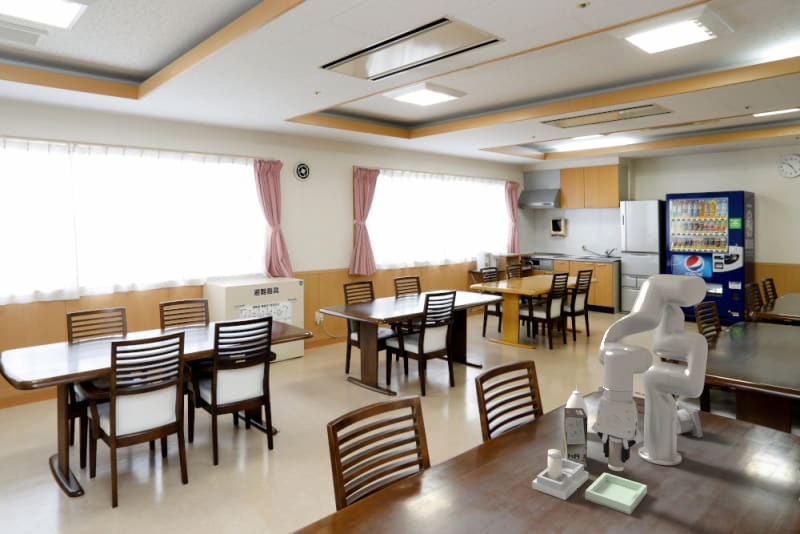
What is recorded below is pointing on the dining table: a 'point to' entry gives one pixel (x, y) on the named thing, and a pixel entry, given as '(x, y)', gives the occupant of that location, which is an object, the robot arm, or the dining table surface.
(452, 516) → the dining table surface
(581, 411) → the coffee box
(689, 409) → the voltmeter
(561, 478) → the fuse block
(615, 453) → the cylinder
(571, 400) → the sauce bottle
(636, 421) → the robot arm
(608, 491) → the parts tray
